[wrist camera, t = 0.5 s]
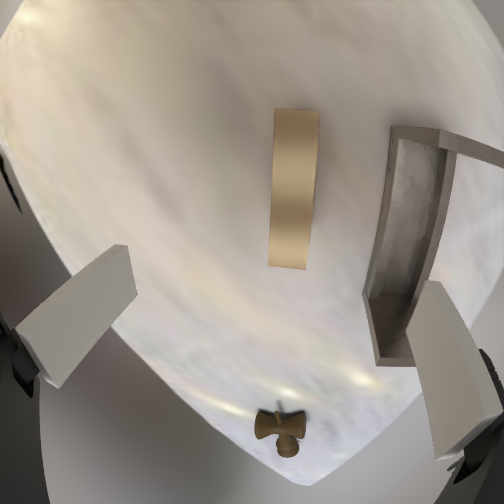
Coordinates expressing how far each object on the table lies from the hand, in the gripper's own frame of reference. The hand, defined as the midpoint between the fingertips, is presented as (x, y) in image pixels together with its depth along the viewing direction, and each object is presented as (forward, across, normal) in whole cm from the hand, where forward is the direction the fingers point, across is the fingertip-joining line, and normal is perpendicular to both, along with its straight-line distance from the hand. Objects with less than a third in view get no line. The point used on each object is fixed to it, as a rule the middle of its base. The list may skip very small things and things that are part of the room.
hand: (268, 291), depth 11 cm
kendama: (+20, +3, -48) cm, 52 cm away
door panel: (+20, 0, +2) cm, 20 cm away
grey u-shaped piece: (+20, +13, -2) cm, 24 cm away
